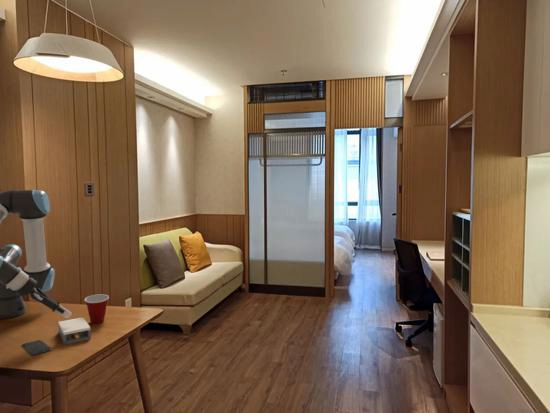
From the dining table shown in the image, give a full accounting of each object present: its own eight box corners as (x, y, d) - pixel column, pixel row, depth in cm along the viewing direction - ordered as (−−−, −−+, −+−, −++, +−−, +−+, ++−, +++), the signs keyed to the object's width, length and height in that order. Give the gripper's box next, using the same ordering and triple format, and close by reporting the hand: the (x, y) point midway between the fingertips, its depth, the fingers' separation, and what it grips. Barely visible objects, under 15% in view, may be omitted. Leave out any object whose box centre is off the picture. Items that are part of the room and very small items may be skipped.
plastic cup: (83, 327, 174) (83, 301, 173) (86, 319, 184) (85, 295, 183) (108, 324, 178) (108, 299, 177) (110, 316, 188) (109, 293, 187)
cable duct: (58, 332, 166) (58, 324, 166) (83, 327, 173) (83, 319, 172) (64, 344, 154) (63, 335, 154) (90, 338, 160) (90, 329, 160)
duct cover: (58, 323, 166) (58, 321, 166) (83, 319, 172) (83, 317, 172) (63, 335, 154) (63, 332, 154) (90, 329, 160) (90, 327, 160)
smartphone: (31, 355, 143) (20, 344, 153) (31, 357, 143) (20, 346, 153) (53, 348, 149) (40, 338, 158) (53, 351, 149) (40, 340, 159)
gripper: (13, 287, 154) (60, 318, 165) (15, 295, 144) (65, 327, 155) (28, 273, 157) (73, 304, 168) (31, 279, 147) (79, 312, 158)
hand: (69, 315), depth 162 cm, fingers closed
